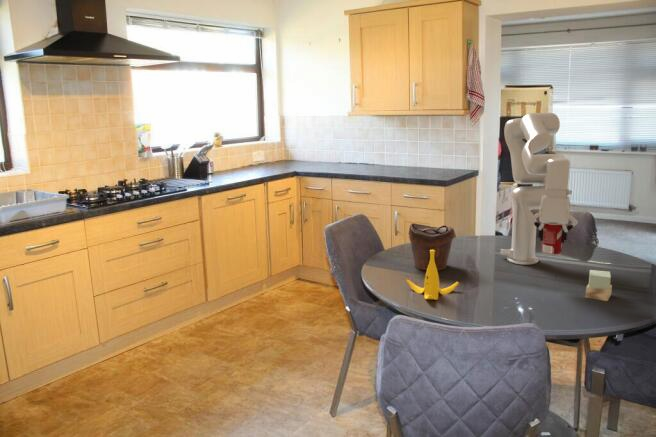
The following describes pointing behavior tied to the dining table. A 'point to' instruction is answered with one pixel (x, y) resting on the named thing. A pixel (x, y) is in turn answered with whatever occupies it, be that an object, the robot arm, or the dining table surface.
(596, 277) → the sage block
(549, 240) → the soda can
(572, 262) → the dining table surface
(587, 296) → the oak base block
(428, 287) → the banana peel
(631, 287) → the dining table surface
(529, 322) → the dining table surface
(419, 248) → the brown flower pot
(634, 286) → the dining table surface
